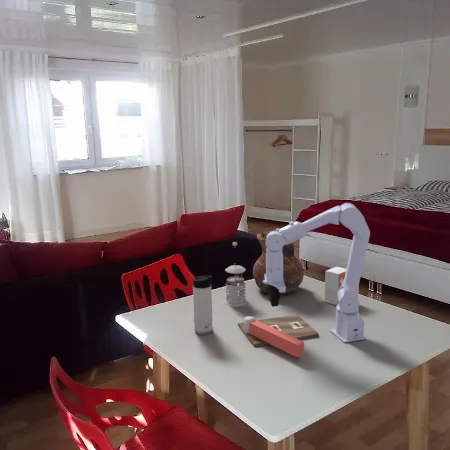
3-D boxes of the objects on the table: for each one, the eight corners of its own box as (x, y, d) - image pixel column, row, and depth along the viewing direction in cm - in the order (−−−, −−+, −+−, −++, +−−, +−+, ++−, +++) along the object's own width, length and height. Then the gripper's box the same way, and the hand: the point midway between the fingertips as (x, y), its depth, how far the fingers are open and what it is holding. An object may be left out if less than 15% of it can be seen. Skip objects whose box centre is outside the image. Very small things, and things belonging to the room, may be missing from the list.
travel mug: (211, 335, 156) (209, 279, 152) (192, 334, 157) (190, 278, 153) (215, 327, 162) (213, 273, 158) (197, 326, 163) (195, 272, 159)
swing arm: (296, 357, 137) (296, 343, 136) (242, 330, 156) (242, 318, 155) (304, 353, 139) (304, 340, 138) (250, 327, 158) (249, 315, 157)
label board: (318, 336, 153) (318, 333, 153) (253, 346, 147) (253, 343, 147) (297, 317, 169) (297, 314, 169) (237, 325, 163) (237, 322, 163)
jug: (242, 290, 199) (241, 234, 194) (273, 278, 213) (273, 225, 208) (283, 302, 183) (283, 242, 178) (313, 289, 198) (314, 232, 193)
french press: (220, 305, 182) (219, 244, 177) (229, 295, 193) (227, 237, 188) (244, 307, 179) (243, 245, 174) (251, 297, 190) (251, 238, 185)
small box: (337, 305, 179) (338, 274, 176) (324, 301, 184) (324, 270, 181) (348, 300, 185) (350, 269, 182) (335, 296, 189) (336, 266, 186)
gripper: (255, 262, 159) (256, 299, 162) (271, 275, 145) (271, 315, 148) (274, 260, 161) (274, 297, 164) (291, 272, 147) (291, 312, 150)
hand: (274, 305), depth 156 cm, fingers closed
